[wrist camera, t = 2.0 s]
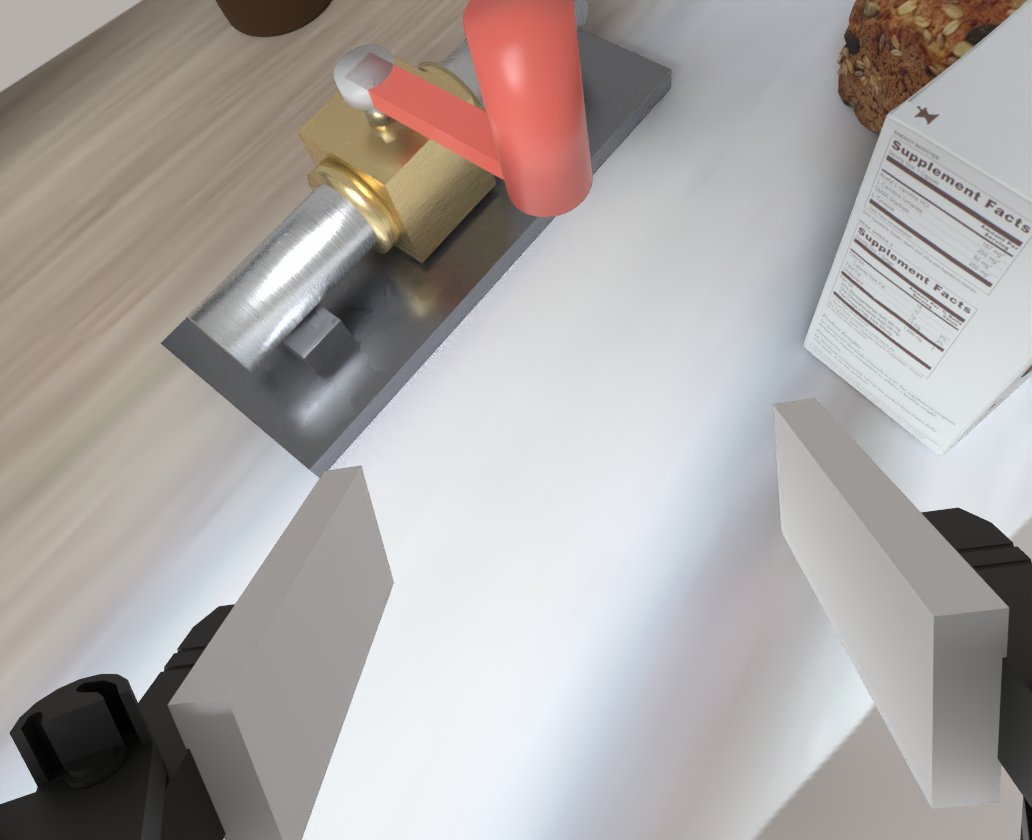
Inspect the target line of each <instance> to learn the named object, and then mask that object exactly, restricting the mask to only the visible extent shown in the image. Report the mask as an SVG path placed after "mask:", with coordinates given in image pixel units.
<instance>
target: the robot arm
mask: <svg viewBox="0 0 1032 840" xmlns="http://www.w3.org/2000/svg"><path fill="white" fill-rule="evenodd" d="M773 413H774V428H775V442H776V457H777V471H778V486H779V500H780V515H781V529H782V534H783V535H784V537H785V539H786V541H787V543H788V545H789V546H790V548H791V550H792V552H793V554H794V556H795V557H796V559H797V561H798V563H799V565H800V567H801V568H802V570H803V572H804V574H805V576H806V578H807V580H808V581H809V583H810V585H811V587H812V589H813V591H814V592H815V594H816V596H817V598H818V600H819V602H820V603H821V605H822V607H823V609H824V611H825V613H826V615H827V616H828V618H829V620H830V622H831V624H832V626H833V627H834V629H835V631H836V633H837V635H838V637H839V638H840V640H841V642H842V644H843V646H844V648H845V649H846V651H847V653H848V655H849V657H850V659H851V661H852V662H853V664H854V666H855V668H856V670H857V672H858V673H859V675H860V677H861V679H862V681H863V683H864V684H865V686H866V688H867V690H868V692H869V694H870V695H871V697H872V699H873V701H874V703H875V705H876V707H877V708H878V710H879V712H880V714H881V716H882V718H883V719H884V721H885V723H886V725H887V727H888V728H889V730H890V732H891V734H892V736H893V738H894V740H895V742H896V743H897V745H898V747H899V749H900V751H901V752H902V754H903V756H904V758H905V760H906V762H907V763H908V765H909V767H910V769H911V771H912V773H913V775H914V776H915V778H916V780H917V782H918V784H919V785H920V787H921V789H922V791H923V793H924V795H925V797H926V798H927V800H928V802H929V804H930V806H931V808H939V807H949V806H961V805H973V804H984V803H995V802H999V796H1000V776H1001V764H1002V766H1003V767H1004V768H1005V770H1006V771H1007V773H1008V774H1009V776H1010V777H1011V778H1012V780H1013V782H1014V783H1015V784H1016V786H1017V787H1018V789H1019V790H1020V792H1021V793H1022V795H1023V809H1022V824H1021V839H1020V840H1032V563H1031V559H1030V558H1029V557H1028V556H1027V555H1026V554H1025V553H1024V552H1023V551H1021V550H1020V549H1019V548H1018V547H1014V546H1013V542H1012V541H1011V540H1010V539H1008V538H1007V537H1006V536H1005V535H1004V534H1003V533H1002V532H1001V531H1000V530H999V529H998V528H997V527H996V526H994V525H993V524H992V523H991V522H989V521H986V520H984V519H982V518H980V517H978V516H976V515H973V514H971V513H969V512H967V511H965V510H962V509H960V508H952V509H945V510H937V511H929V512H922V513H921V512H920V511H919V510H918V509H917V508H916V507H915V506H914V505H913V504H912V502H911V501H910V500H909V499H908V498H907V497H906V496H905V495H904V494H903V493H902V492H901V491H900V489H899V488H898V487H897V486H896V485H895V484H894V483H893V482H892V481H891V480H890V479H889V478H888V477H887V475H886V474H885V473H884V472H883V471H882V470H881V469H880V468H879V467H878V466H877V465H876V464H875V463H874V461H873V460H872V459H871V458H870V457H869V456H868V455H867V454H866V453H865V452H864V451H863V450H862V449H861V447H860V446H859V445H858V444H857V443H856V442H855V441H854V440H853V439H852V438H851V437H850V436H849V434H848V433H847V432H846V431H845V430H844V429H843V428H842V427H841V426H840V425H839V424H838V423H837V422H836V420H835V419H834V418H833V417H832V416H831V415H830V414H829V413H828V412H827V411H826V410H825V409H824V408H823V406H822V405H821V404H820V403H819V402H818V401H817V400H816V399H815V398H812V399H805V400H799V401H792V402H785V403H778V404H773ZM393 584H394V581H393V578H392V574H391V571H390V567H389V563H388V560H387V556H386V553H385V549H384V545H383V542H382V538H381V535H380V531H379V527H378V524H377V520H376V517H375V513H374V510H373V506H372V502H371V499H370V495H369V492H368V488H367V484H366V481H365V477H364V474H363V470H362V466H356V467H349V468H342V469H336V470H329V471H324V473H323V474H322V476H321V477H320V479H319V480H318V482H317V483H316V485H315V486H314V488H313V489H312V491H311V492H310V494H309V495H308V497H307V498H306V500H305V501H304V503H303V504H302V506H301V507H300V509H299V510H298V512H297V513H296V515H295V516H294V518H293V519H292V521H291V522H290V524H289V525H288V526H287V528H286V529H285V531H284V532H283V534H282V535H281V537H280V538H279V540H278V541H277V543H276V544H275V546H274V547H273V549H272V550H271V552H270V553H269V555H268V556H267V558H266V559H265V561H264V562H263V564H262V565H261V567H260V568H259V570H258V571H257V573H256V574H255V576H254V577H253V579H252V580H251V582H250V583H249V585H248V586H247V587H246V589H245V590H244V592H243V593H242V595H241V596H240V598H239V599H238V601H237V602H236V604H234V605H226V606H219V607H218V608H216V609H215V610H214V611H213V612H211V613H210V614H209V615H208V616H206V617H205V618H204V619H203V620H201V621H200V622H199V623H198V624H197V625H195V626H194V627H193V628H192V630H191V631H190V632H189V634H188V635H187V636H186V638H185V639H184V641H183V642H182V643H181V645H180V646H179V648H178V649H177V650H178V653H174V654H173V656H172V657H171V659H170V660H169V661H168V663H167V664H166V665H165V667H164V672H160V674H159V675H158V676H157V678H156V679H155V681H154V682H153V683H152V685H151V686H150V688H149V689H148V690H147V692H146V693H145V694H144V696H143V697H142V699H141V700H140V701H139V703H138V702H137V700H136V698H135V695H134V693H133V691H132V689H131V686H130V684H129V682H128V680H127V679H125V678H123V677H122V676H120V675H118V674H99V675H95V676H91V677H87V678H83V679H79V680H77V681H75V682H73V683H70V684H68V685H66V686H63V687H61V688H59V689H57V690H55V691H54V692H52V693H51V694H49V695H47V696H46V697H44V698H43V699H41V700H40V701H38V702H36V703H35V704H34V705H33V706H32V707H31V708H30V709H29V710H28V711H27V712H25V713H24V714H23V715H22V716H21V717H20V718H19V719H18V721H17V722H16V724H15V725H14V727H13V729H12V730H11V732H10V735H11V737H12V739H13V740H14V742H15V744H16V746H17V748H18V750H19V752H20V754H21V756H22V758H23V759H24V761H25V763H26V765H27V767H28V769H29V771H30V773H31V775H32V777H33V778H34V780H35V782H36V784H37V786H38V788H37V791H36V792H35V793H32V794H29V795H26V796H23V797H20V798H17V799H15V800H12V801H9V802H6V803H3V804H0V840H223V839H225V840H302V837H303V834H304V831H305V829H306V826H307V823H308V820H309V818H310V815H311V812H312V809H313V806H314V804H315V801H316V798H317V795H318V792H319V790H320V787H321V784H322V781H323V779H324V776H325V773H326V770H327V767H328V765H329V762H330V759H331V756H332V753H333V751H334V748H335V745H336V742H337V740H338V737H339V734H340V731H341V728H342V726H343V723H344V720H345V717H346V714H347V712H348V709H349V706H350V703H351V701H352V698H353V695H354V692H355V689H356V687H357V684H358V681H359V678H360V675H361V673H362V670H363V667H364V664H365V662H366V659H367V656H368V653H369V650H370V648H371V645H372V642H373V639H374V636H375V634H376V631H377V628H378V625H379V623H380V620H381V617H382V614H383V611H384V609H385V606H386V603H387V600H388V597H389V595H390V592H391V589H392V586H393Z"/></svg>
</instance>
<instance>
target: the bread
mask: <svg viewBox="0 0 1032 840" xmlns="http://www.w3.org/2000/svg"><path fill="white" fill-rule="evenodd" d="M1026 1H1028V0H857V1H856V2H855V4H854V6H853V9H852V12H851V14H850V17H849V24H850V25H849V26H848V28H847V30H846V33H845V35H844V38H845V41H846V45H845V46H844V47H843V49H842V51H841V53H839V54H840V56H839V59H838V61H837V63H838V64H840V65H841V67H840V69H839V71H838V73H837V74H840V75H839V86H838V93H839V95H840V97H841V99H842V101H843V102H844V103H845V104H846V105H848V106H851V107H854V112H855V114H856V116H857V118H858V119H859V121H860V123H861V124H863V125H864V126H865V127H866V128H868V129H869V130H872V131H876V132H878V133H879V135H880V132H881V129H882V127H883V124H884V121H885V118H886V116H887V115H888V113H890V112H891V111H892V110H893V109H895V108H896V107H898V106H899V105H900V104H902V103H903V102H905V101H906V100H907V99H909V98H910V97H911V96H913V95H914V94H915V93H917V92H918V91H919V90H920V89H922V88H923V87H924V86H926V85H927V84H928V83H929V82H931V81H932V80H933V79H934V78H936V77H937V76H938V75H940V74H941V73H942V72H943V71H945V70H946V69H947V68H948V67H950V66H951V65H952V64H953V63H955V62H956V61H957V60H959V59H960V58H961V57H962V56H963V55H965V54H966V53H967V52H968V51H969V50H971V49H972V48H973V47H974V46H975V45H977V44H978V43H979V42H980V41H981V40H982V39H984V38H985V37H986V36H987V35H988V34H990V33H991V32H992V31H993V30H994V29H995V28H997V27H998V26H999V25H1000V24H1001V23H1002V22H1004V21H1005V20H1006V19H1007V18H1008V17H1009V16H1010V15H1012V14H1013V13H1014V12H1015V11H1016V10H1017V9H1019V8H1020V7H1021V6H1022V5H1023V4H1024V3H1025V2H1026Z"/></svg>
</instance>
